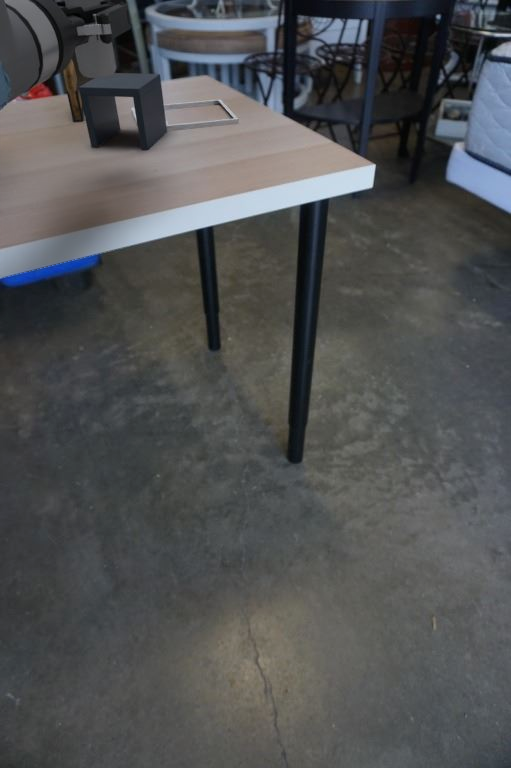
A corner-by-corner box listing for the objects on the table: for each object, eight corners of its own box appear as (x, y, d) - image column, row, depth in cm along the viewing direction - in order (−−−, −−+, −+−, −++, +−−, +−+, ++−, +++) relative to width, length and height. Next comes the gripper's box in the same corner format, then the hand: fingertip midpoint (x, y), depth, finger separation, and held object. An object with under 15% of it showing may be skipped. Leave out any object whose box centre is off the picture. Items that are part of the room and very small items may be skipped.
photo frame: (130, 106, 104) (220, 98, 107) (131, 112, 105) (220, 104, 108) (139, 127, 93) (238, 117, 97) (140, 134, 94) (238, 124, 97)
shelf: (91, 147, 89) (78, 87, 83) (114, 129, 96) (104, 72, 90) (147, 149, 87) (138, 88, 81) (167, 131, 95) (160, 73, 89)
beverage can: (117, 69, 72) (98, -44, 64) (116, 77, 69) (96, -42, 61) (81, 71, 72) (58, -43, 64) (78, 79, 68) (53, -40, 60)
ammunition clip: (74, 107, 108) (58, 37, 100) (83, 106, 108) (68, 36, 100) (73, 121, 100) (56, 47, 92) (83, 121, 100) (67, 46, 92)
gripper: (-46, 82, 56) (44, 41, 73) (118, 83, 54) (171, 41, 71) (-77, -6, 51) (28, -27, 68) (103, -8, 49) (164, -29, 66)
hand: (101, 8), depth 70 cm, fingers closed on beverage can, 5 cm apart
